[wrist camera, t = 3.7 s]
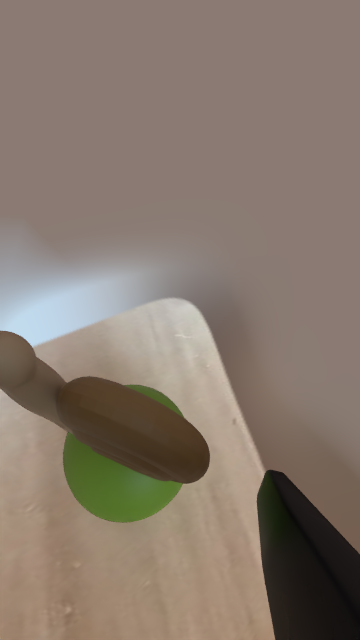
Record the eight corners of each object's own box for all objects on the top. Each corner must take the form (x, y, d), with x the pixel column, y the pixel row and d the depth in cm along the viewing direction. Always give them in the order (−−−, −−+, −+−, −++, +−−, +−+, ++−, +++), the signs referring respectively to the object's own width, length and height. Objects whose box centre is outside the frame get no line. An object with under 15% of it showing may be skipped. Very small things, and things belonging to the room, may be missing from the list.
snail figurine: (92, 379, 17) (22, 213, 7) (197, 424, 17) (294, 320, 6) (35, 479, 15) (-223, 460, 4) (158, 536, 14) (215, 679, 4)
